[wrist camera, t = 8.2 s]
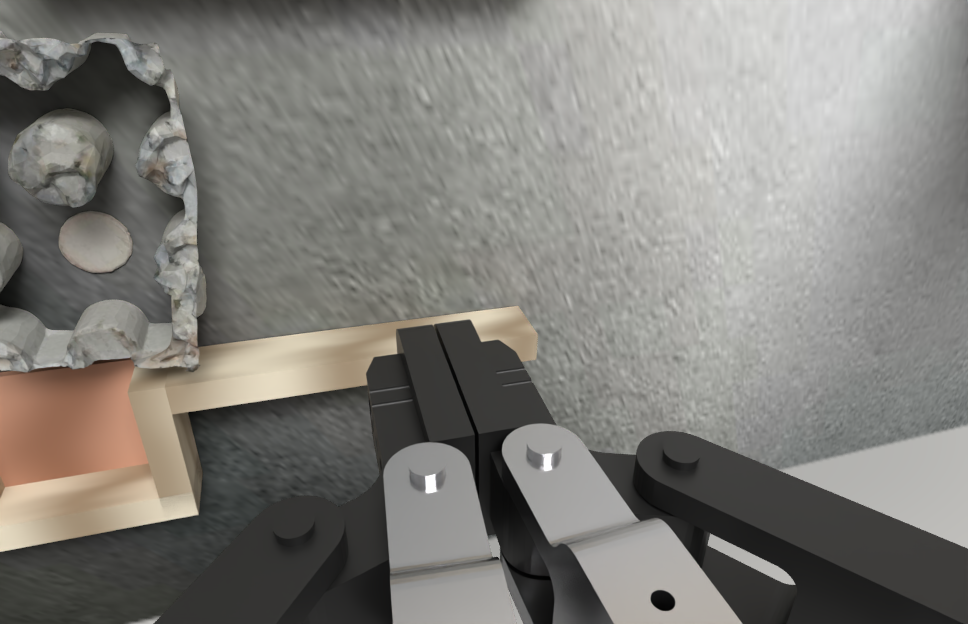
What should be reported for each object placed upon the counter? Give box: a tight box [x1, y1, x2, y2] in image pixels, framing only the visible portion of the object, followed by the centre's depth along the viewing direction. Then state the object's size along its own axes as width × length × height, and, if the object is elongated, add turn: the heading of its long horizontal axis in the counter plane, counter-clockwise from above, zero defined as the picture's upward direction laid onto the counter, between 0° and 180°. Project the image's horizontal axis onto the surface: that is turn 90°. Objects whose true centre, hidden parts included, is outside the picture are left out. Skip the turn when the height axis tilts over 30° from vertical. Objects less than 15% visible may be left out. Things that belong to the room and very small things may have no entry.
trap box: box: [0, 306, 538, 552], centre depth 22 cm, size 22×26×3 cm
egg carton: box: [0, 31, 207, 372], centre depth 21 cm, size 11×8×4 cm
